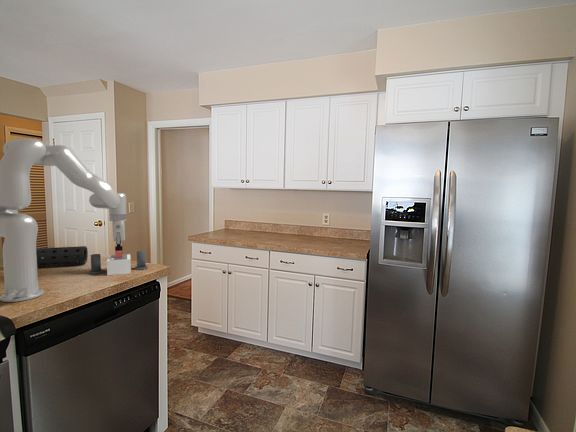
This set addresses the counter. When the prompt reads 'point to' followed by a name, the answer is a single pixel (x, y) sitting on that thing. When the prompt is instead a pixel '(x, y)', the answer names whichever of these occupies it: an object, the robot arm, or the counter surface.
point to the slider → (118, 254)
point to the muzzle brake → (61, 256)
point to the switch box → (118, 264)
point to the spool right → (141, 261)
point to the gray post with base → (95, 264)
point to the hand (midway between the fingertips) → (118, 254)
